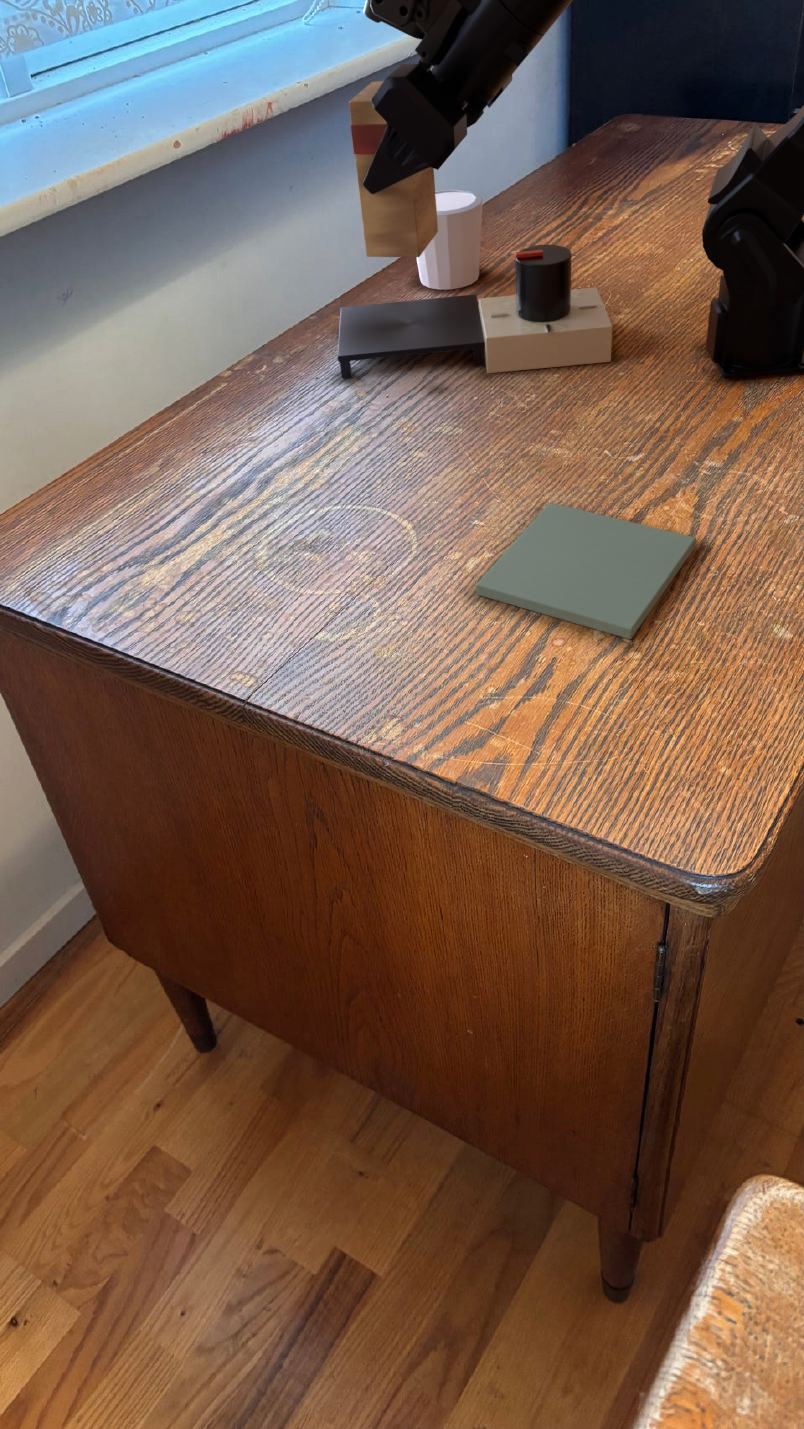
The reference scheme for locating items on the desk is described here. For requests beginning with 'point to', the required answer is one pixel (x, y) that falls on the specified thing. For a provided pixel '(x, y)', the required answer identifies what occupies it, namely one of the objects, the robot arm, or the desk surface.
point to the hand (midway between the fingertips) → (379, 176)
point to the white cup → (453, 242)
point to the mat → (588, 569)
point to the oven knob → (543, 282)
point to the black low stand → (410, 329)
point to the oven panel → (545, 334)
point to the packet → (390, 191)
